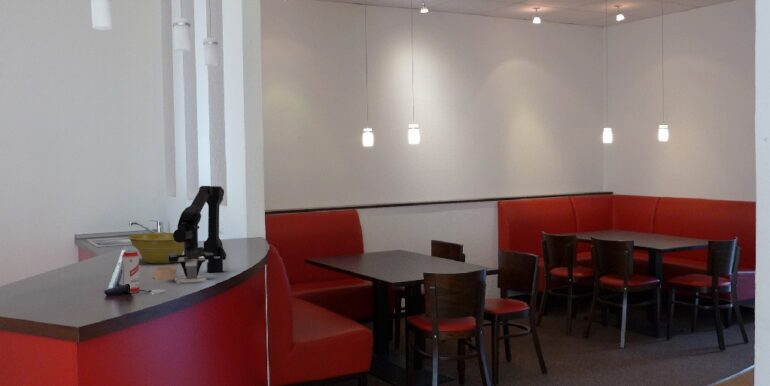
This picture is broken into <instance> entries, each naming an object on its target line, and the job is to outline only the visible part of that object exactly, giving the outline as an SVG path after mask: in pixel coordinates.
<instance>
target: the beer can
mask: <svg viewBox="0 0 770 386" xmlns="http://www.w3.org/2000/svg"><path fill="white" fill-rule="evenodd" d="M139 255H140V254H139V252H138V251H137V250H125V251H123V254H122V256H121V278H122V280H121V282H122V283H121V284H122V285H125V284H129V285H130V293H131V294H136V293H138V292H139V291H140V256H139Z"/></svg>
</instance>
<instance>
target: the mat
mask: <svg viewBox="0 0 770 386" xmlns="http://www.w3.org/2000/svg"><path fill="white" fill-rule="evenodd" d="M177 278H178V277H176V278H174V281H175V282H176V284H187V283H188V284H189V283H190V284H191V283H194V282H178V281H177ZM206 282H210V281H209V279H208V278H207V277H206V280H204V281H199V282H198V283H206Z"/></svg>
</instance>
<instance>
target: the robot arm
mask: <svg viewBox="0 0 770 386" xmlns="http://www.w3.org/2000/svg"><path fill="white" fill-rule="evenodd" d="M224 196H225V190H224V188H223V187H222V186H221V185H219V186H217V185H201V186H199V188H198V192H197V194H196V195H195V197H194V199H193V201H192V202H191V205H189V206H188V207H185V209H184V210H183V211H182V212H181V214H180V216H179V220H178V222H177V226H176V227H177V229H175V230H174V232H173V233H174V234H173V238H174V240H175V241H176V242H178V243H181V242H184V251H183V254H182V255H178V253H169V254H168V261H176V262H177V264H180V266H181V268H182V271H183V274H184V276H185V277H187V272H186V266H187V264H186V261H185V260H187V261H189V260H196V265H195V266H196V267H197V276H199V272H200V270H201V267H202V264H203V263H204V262H206V260H207V262H206V272H207V273H209V274H219V273H224V262H223V261H225V260H226V259H227V253H226V250H225V249H224V245H223V242H222V240H221V238H220V206H221V204H222V201H224ZM205 204H207V205H208V207H207V209H208V213H207V216H208V218H207V219H208V220H207V221H208V222H207V223H208V224H207V238H206V240H205V241H203V246H200V247H199V230H198V229H200V226H199V223H200V221H201V218H202V213H201V212H202V210H203V208H204V206H205Z"/></svg>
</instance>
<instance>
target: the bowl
mask: <svg viewBox="0 0 770 386" xmlns="http://www.w3.org/2000/svg"><path fill="white" fill-rule="evenodd" d="M153 278H154V280H171V279H175V278H177V268H176V267H174V266H173V267H172V266H162V267H161V266H160V267H153Z"/></svg>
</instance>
